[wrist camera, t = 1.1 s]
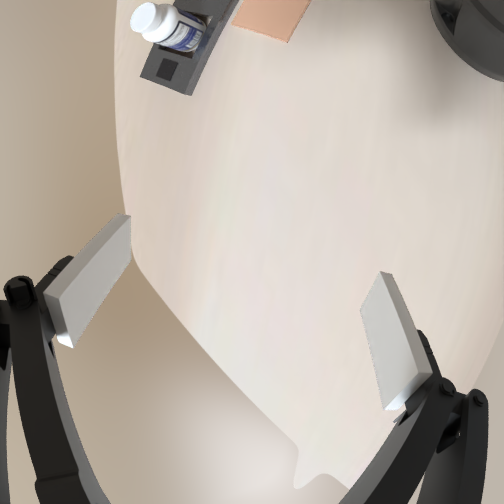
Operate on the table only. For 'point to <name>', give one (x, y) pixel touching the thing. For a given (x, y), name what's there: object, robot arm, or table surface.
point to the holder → (189, 70)
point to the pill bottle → (168, 26)
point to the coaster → (271, 17)
